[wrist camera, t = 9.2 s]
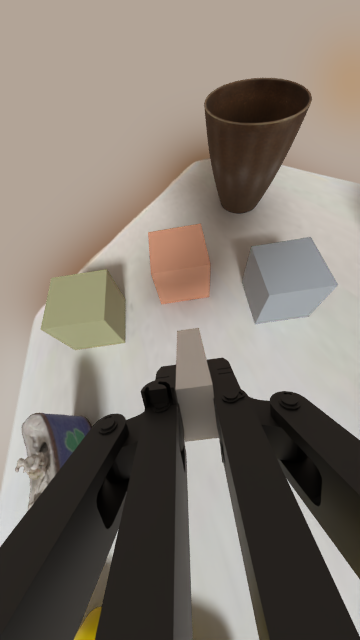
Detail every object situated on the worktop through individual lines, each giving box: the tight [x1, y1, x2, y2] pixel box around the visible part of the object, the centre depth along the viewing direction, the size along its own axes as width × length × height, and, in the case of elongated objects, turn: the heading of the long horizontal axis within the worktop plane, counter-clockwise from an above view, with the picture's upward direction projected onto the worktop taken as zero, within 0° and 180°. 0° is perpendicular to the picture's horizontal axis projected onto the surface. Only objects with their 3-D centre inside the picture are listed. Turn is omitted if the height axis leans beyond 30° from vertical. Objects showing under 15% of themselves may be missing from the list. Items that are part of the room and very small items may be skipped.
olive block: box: [41, 269, 125, 350], centre depth 31 cm, size 8×8×8 cm
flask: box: [15, 413, 92, 510], centre depth 22 cm, size 9×3×11 cm, turn 26°
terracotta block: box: [148, 224, 210, 304], centre depth 34 cm, size 8×8×8 cm
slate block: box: [242, 237, 338, 324], centre depth 30 cm, size 8×8×8 cm
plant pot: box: [204, 78, 312, 213], centre depth 38 cm, size 15×15×16 cm
